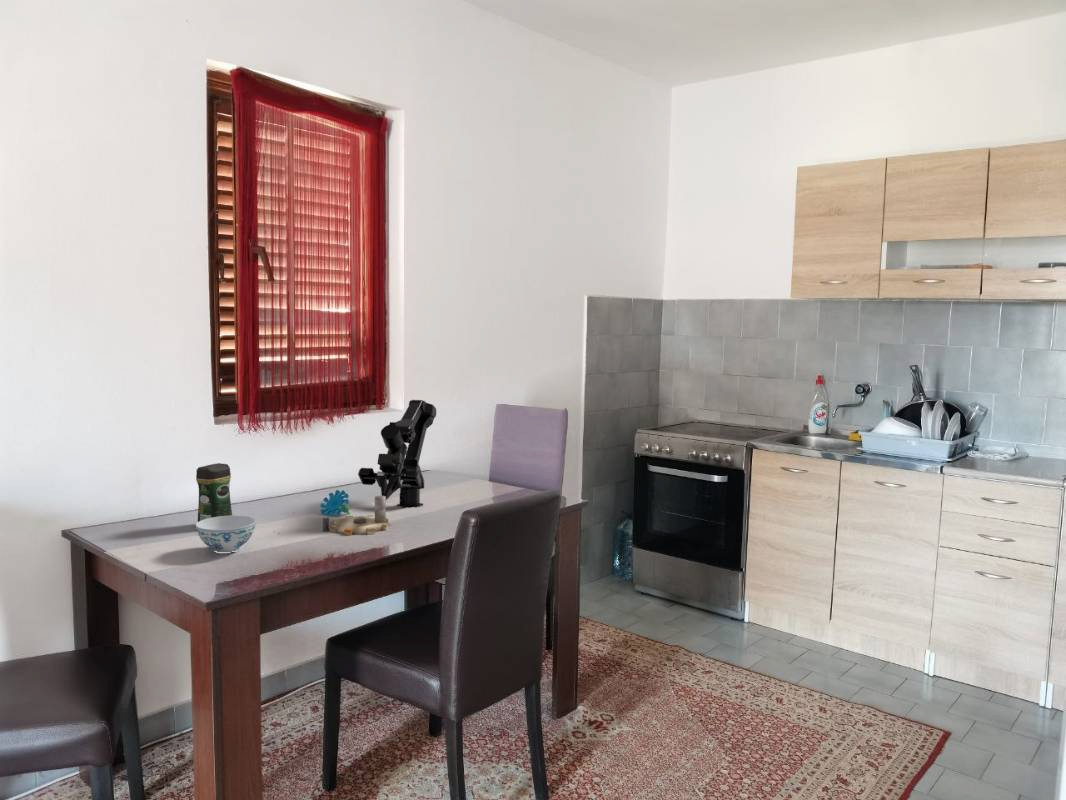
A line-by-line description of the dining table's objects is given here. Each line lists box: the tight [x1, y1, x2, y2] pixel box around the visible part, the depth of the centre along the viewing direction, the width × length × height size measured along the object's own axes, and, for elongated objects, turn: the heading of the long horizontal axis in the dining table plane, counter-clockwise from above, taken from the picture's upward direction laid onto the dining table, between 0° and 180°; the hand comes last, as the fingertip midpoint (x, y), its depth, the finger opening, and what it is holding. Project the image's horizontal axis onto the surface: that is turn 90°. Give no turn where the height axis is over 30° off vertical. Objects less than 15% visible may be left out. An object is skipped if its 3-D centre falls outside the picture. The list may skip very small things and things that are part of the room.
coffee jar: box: [195, 462, 233, 522], centre depth 242 cm, size 10×8×19 cm
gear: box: [319, 489, 352, 517], centre depth 259 cm, size 11×6×10 cm
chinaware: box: [195, 515, 257, 552], centre depth 217 cm, size 15×15×8 cm
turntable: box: [329, 495, 390, 536], centre depth 241 cm, size 17×17×9 cm
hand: (383, 500), depth 245 cm, fingers closed
